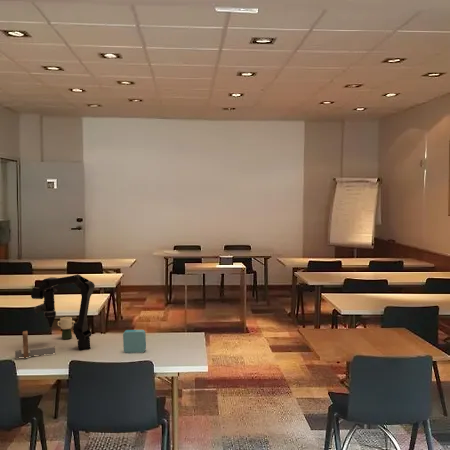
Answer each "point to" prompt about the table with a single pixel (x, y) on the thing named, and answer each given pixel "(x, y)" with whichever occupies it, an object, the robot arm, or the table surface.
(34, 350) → the grey crossbar
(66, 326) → the character mug
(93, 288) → the robot arm
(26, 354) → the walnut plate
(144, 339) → the teal square block
